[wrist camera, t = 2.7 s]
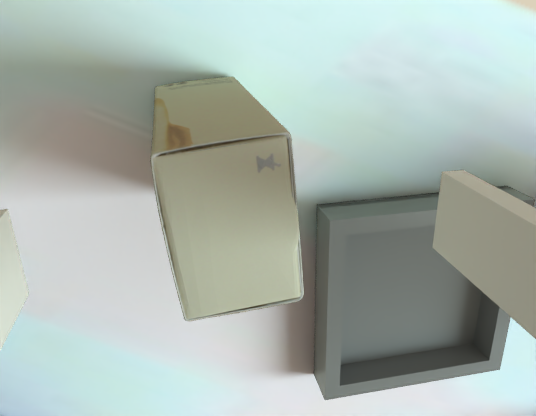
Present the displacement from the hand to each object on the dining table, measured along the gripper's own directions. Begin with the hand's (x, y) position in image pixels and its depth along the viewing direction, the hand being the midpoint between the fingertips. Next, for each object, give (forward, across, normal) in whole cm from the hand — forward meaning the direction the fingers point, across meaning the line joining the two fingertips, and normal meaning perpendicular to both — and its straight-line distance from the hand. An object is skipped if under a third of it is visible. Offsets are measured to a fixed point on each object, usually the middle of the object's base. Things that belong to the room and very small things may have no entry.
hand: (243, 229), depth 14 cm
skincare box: (+13, 0, 0) cm, 13 cm away
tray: (+12, +13, -11) cm, 21 cm away
